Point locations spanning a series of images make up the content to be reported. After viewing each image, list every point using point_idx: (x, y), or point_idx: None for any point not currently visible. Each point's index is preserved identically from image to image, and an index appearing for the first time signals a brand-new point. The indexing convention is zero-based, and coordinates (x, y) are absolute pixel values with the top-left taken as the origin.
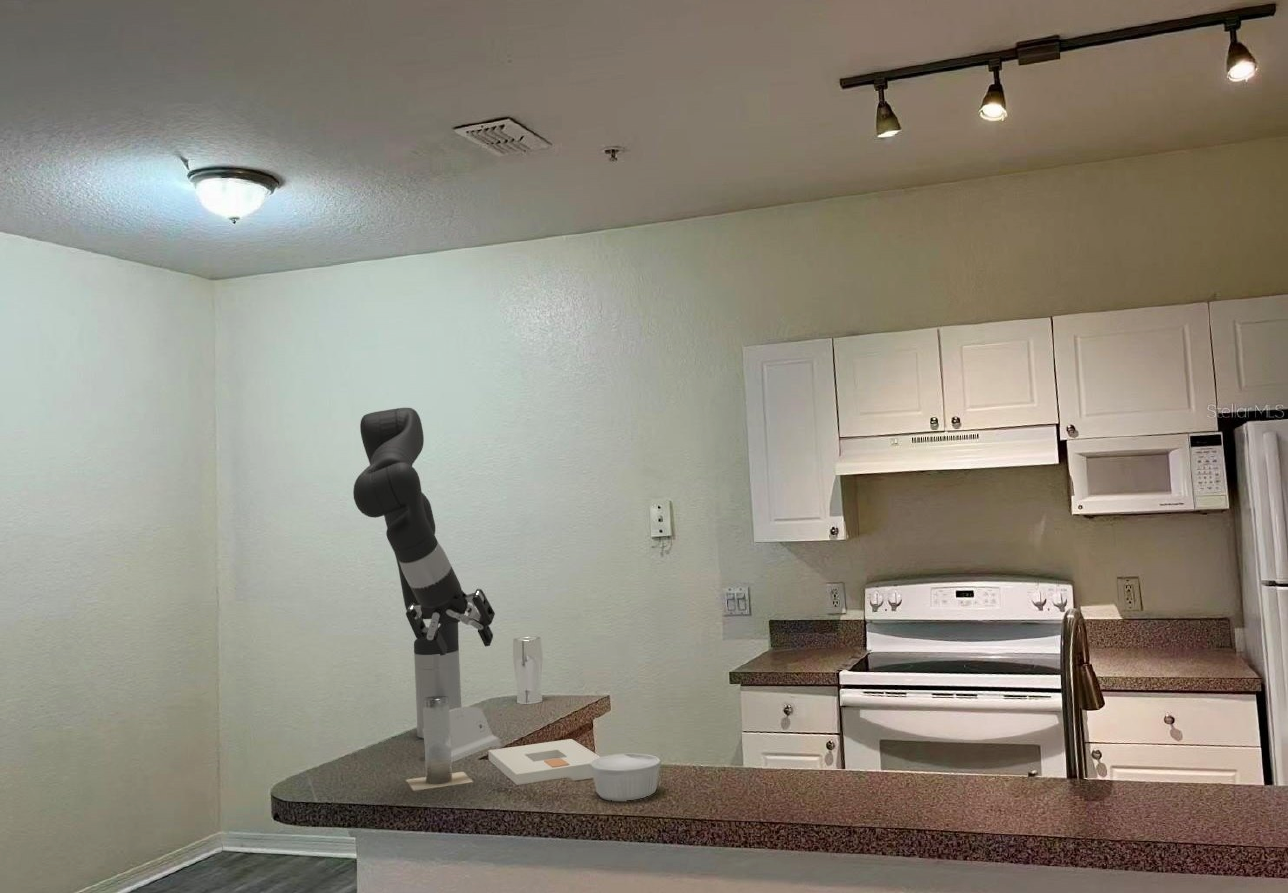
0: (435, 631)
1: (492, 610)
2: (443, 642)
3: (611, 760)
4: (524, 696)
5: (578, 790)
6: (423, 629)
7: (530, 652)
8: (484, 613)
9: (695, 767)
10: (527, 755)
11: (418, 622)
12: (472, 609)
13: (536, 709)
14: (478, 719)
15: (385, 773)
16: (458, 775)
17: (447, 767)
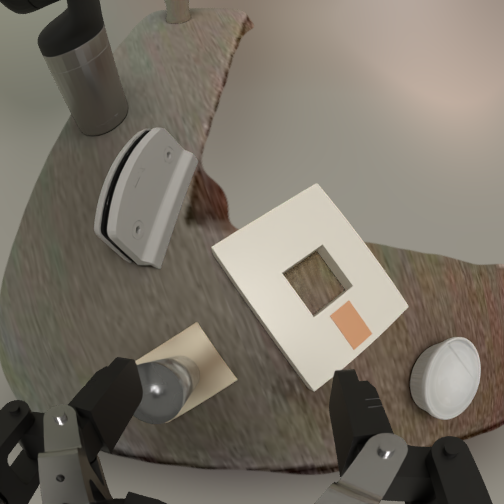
0: (106, 487)
1: (471, 468)
2: (119, 387)
3: (443, 379)
4: (174, 17)
5: (385, 377)
6: (33, 446)
7: None
8: None
9: (461, 265)
10: (285, 270)
11: (18, 494)
12: None
13: (192, 33)
14: (163, 148)
15: (78, 302)
16: (198, 345)
17: (196, 385)
